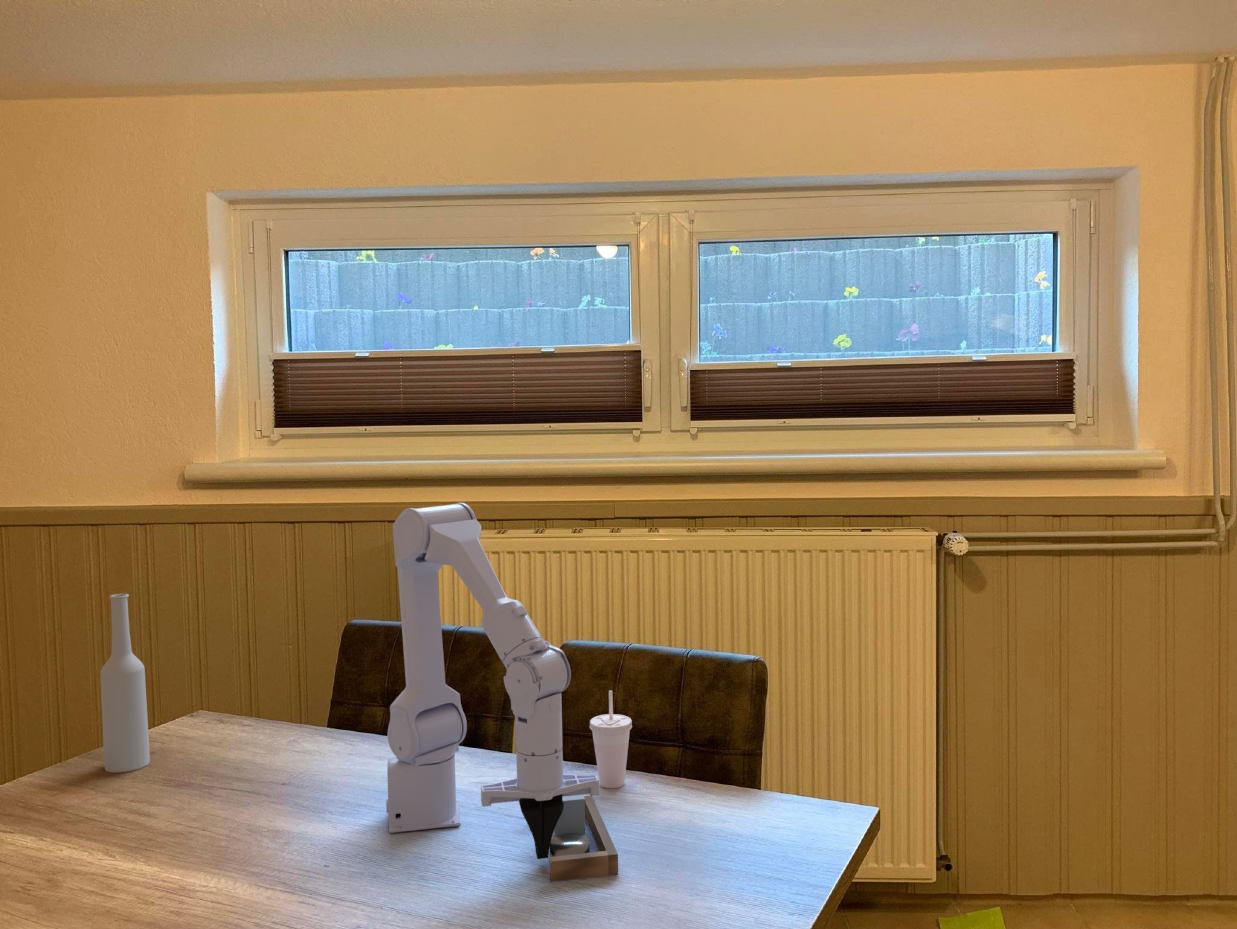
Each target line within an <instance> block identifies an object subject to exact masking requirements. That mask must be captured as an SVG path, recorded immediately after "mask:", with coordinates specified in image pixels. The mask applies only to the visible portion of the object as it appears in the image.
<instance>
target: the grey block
mask: <svg viewBox="0 0 1237 929" xmlns="http://www.w3.org/2000/svg"><path fill="white" fill-rule="evenodd" d="M584 796H585V795H584V794H583V795H573V796H563V797H562V800H563V803H564V808H563V812H562V814H561V816H560V818H559V820H558V822H557V824H556V827H555V829H554V832H553V835H552V838H553V837H555V836H557V835H560V834H565V833H578V834H582V835H585V836H586V819H585V798H584Z"/></svg>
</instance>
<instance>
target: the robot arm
mask: <svg viewBox="0 0 1237 929" xmlns="http://www.w3.org/2000/svg"><path fill="white" fill-rule="evenodd" d="M392 536H393V538H392V539H393V550H394V562H395V564H394V565H395V567H396V569H397V576H398V577H397V578H398V579H397V581H398V582H397V583H398V594H399V604H400V605H399V608H400V622H401V633H402V634H401V635H402V647H403V659H404V660H403V661H404V662H403V663H404V674H405V675H404V676H405V687H404V689H403V690H402V691H401V692H400V694H399V695H398V696H396V698H395V699H394V701H393V702H392V703H391V704H390V706H389V712H390V714H389V715H390V717H389V723H388V728H387V742H388V746H389V748H390V750H391V752H392V753H393V755H394V756H395V757H391V758H388V759H387V771H386V772H387V775H386V776H387V777H386V778H387V799H386V800H385V801H386V802H385V803H386V804H385V805H386V814H388V832H389V833H393V834H394V833H402V832H410V831H412V832H413V831H421V830H430V829H438V828H439V829H442V828H449V827H458V826H460V825H461V816H460V805H459V800H457V790H456V788H457V787H456V785H457V784H456V758H455V756H456V755H455V754H456V753H457V752H459V751H460V749H459V748H460V746H459V745H460V744H461V743H462V742H463V741H464V739H465V738H466V734H467V729H468V728H467V725H468V724H467V719H466V718H467V717H466V715H465V713H464V711H463V707H462V704H461V694H460V693H459V692H458V691H456V690H455V689H453V688H452V687H450V686H448V684H447V683H446V675H445V674H446V673H445V672H446V671H445V660H444V648H443V647H444V646H443V644H444V643H443V634H442V633H443V632H442V631H443V630H442V618H441V617H442V616H441V606H440V592H439V579H438V573H439V571H440V570H441V569H442V568H443V567H444V566H450V567H452V568H453V569H454V570H455V572H456V574H457V575H458V576H459V578H460V580H462V582H463V583H464V585H465V586H466V588H467V589H468V591H469V592H470V593H471V595H472V597H473V598H474V599H475V601H476V602H477V604H478V605H479V606H480V608H481V609H482V611H483V615H482V617H481V618H482V619H481V628H482V630H483V631H484V632H485V635H486V636H487V637H488V639H489V642H490V643H491V644H492V646H493V648H494V649H495V652H496V653H497V655H498V657H499V659H500V660H501V662H502V664H503V666H504V667H505V669H506V672H505V675H504V676H503V684H504V687H505V690H506V693H507V694H508V696H509V700H510V708H511V709H510V710H511V711H512V714H513V715H514V716H515V717H514V718H515V744H516V745H515V747H516V748H515V750H516V751H515V753H516V754H515V755H516V756H515V757H516V778H512V779H509V780H504V781H500V782H499V781H498V782H495V783H491V784H484V785H483V784H482V785H481V786H480V797H481V798H480V799H481V800H480V801H481V807H491V806H492V804H493V805H494V804H500V803H510V802H511V803H512V802H518V803H519V807H520V812H521V815H523V818H524V819H525V821H526V823H527V826H528V828H529V830H530V833H531V834H532V839H533V842H534V849H535V854H536V859H537V860H542V859H543V860H544V859H549V854H550V843H551V839H552V838H553V837H552V835H553V832H554V829H555V827H556V824H557V822H558V820H559V818H560V816H561V814H562V812H563V808H564V803H563V800H562V797H563V796H573V795H583V796H584V795H589V796H592V797H594V796H600V781H599V776H597V774H564V764H563V763H564V762H563V761H564V760H563V759H564V757H563V755H564V754H563V717H562V716H563V715H562V714H563V711H562V710H563V709H562V708H563V707H562V704H563V703H562V692H564V691H565V690H567V688H568V687H569V685H570V682H571V678H572V671H571V666H570V663H569V660H568V658H567V656H566V654H565V652H564V651H563V650H562V649H561V648H559V647H557V646H555V645H554V646H553V644H551V642H550V641H547V639H546V640H544V638H543V636H542V635H541V633H540V632H539V630H538V629H537V627H536V625H535V623H534V621H533V620H532V618H531V617H530V615H529V614H528V611H527V610H526V608H525V606H524V605H523V603H521V601H520V600H516V599H513V598H509V597H508V596H507V594H506V593H505V591H504V588H503V586H502V585H501V582H500V580H499V578H498V576H497V574H496V572H495V570H494V568H493V566H492V564H491V562H490V560H489V558H488V555H487V554H486V552H485V550H484V547H483V546H482V544H481V536H482V525H481V523H480V522H479V521H478V520H477V517H476V515H475V513H474V511H473V509H472V508H471V507H470V506H469V505H468V504H467V503H464V502H457V503H452V504H446V505H436V506H429V507H428V506H427V507H419V508H418V507H417V508H414V507H408V508H406V509H404V510H403V511H401V512H400V514H399V515H398V517H397V518H396V519H395V520H394V522H393V523H392Z"/></svg>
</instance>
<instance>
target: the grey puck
mask: <svg viewBox="0 0 1237 929" xmlns="http://www.w3.org/2000/svg"><path fill="white" fill-rule="evenodd" d="M590 848H591V847H590V838H589V836H585V835H582V834H578V833H565V834H560V835H557V836H555V837H552V839H551V843H550V847H549V858H550V857H555V856H564V855H573V854H582V853H591V849H590Z"/></svg>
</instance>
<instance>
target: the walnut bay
mask: <svg viewBox="0 0 1237 929" xmlns="http://www.w3.org/2000/svg"><path fill="white" fill-rule="evenodd" d="M583 796H584V798H585V822H586V823H587V826H588V828H589V832H590V833H591V836H592V838H593V840H594V843H595V845H596V847H597V850H598V851H592V852H591V851H590V853H582V854H573V855H564V856H555V857H550V856H549V879H550V882H551V883H553V882H562V881H563V882H564V881H570V880H571V881H572V880H578V879H579V880H580V879H587V878H597V877H598V878H599V877H604V876H605V877H606V876H613V875H619V853H618V850H617V849H616V846H615V844H614V842H613V839H612V838H611V836H610V834H609V831H608V828H607V826H606V824H605V822H604V819H603V818H602V815H601V813H600V811H599V809H598V806H597V804H596V802H595V800H594V798H593V797H594V796H591V795H583Z"/></svg>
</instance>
